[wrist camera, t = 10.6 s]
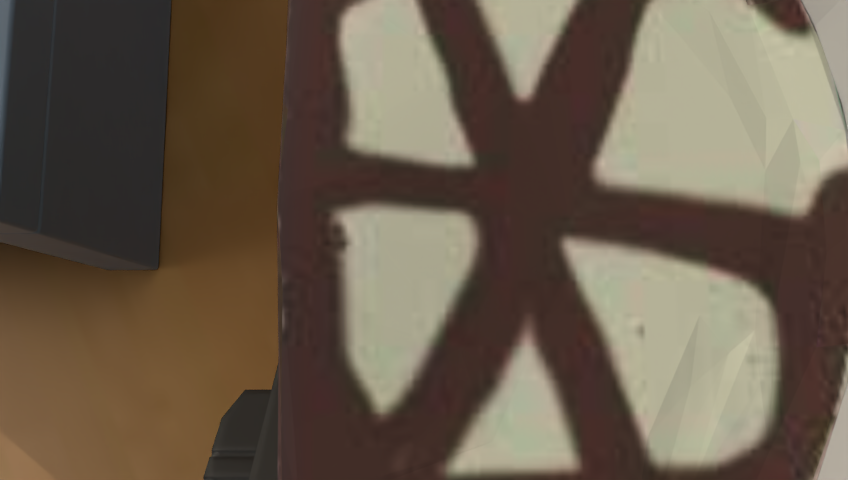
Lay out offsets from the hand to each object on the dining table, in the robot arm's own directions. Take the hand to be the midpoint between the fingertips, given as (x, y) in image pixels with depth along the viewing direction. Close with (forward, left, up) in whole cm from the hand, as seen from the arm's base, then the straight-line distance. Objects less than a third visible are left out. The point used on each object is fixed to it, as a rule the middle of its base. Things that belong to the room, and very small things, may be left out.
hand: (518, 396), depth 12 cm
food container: (+2, -1, -5) cm, 5 cm away
